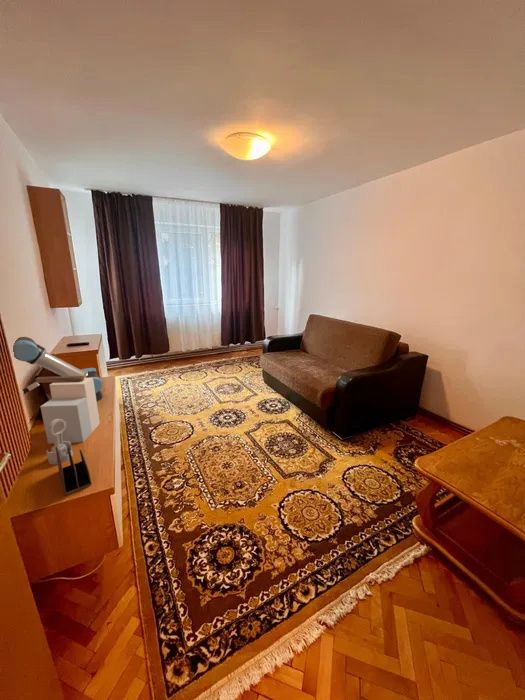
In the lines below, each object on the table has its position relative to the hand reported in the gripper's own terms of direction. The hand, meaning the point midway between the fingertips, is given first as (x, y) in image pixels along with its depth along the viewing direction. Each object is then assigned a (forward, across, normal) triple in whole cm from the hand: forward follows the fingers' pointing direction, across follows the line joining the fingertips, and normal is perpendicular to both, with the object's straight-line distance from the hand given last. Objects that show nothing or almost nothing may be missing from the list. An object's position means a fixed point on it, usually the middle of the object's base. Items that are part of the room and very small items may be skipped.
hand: (29, 387), depth 159 cm
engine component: (+11, +28, -37) cm, 48 cm away
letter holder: (+23, +44, -44) cm, 66 cm away
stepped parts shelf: (+6, +5, -34) cm, 35 cm away
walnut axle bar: (+16, 0, -5) cm, 17 cm away
